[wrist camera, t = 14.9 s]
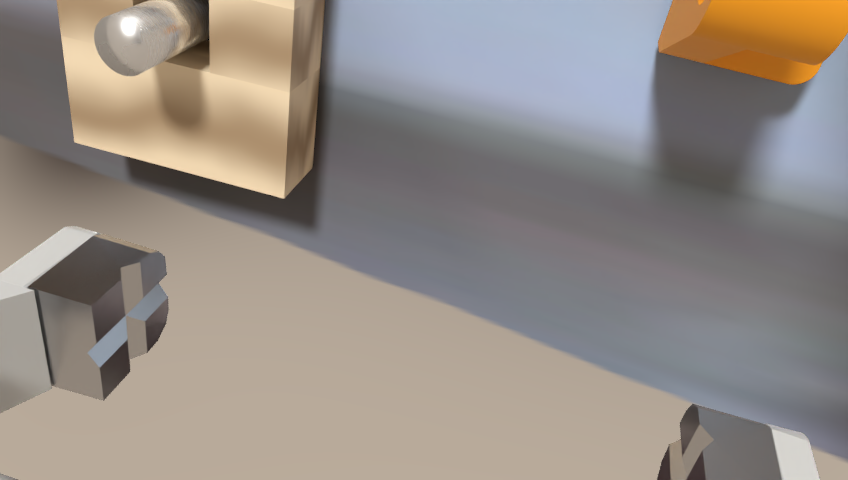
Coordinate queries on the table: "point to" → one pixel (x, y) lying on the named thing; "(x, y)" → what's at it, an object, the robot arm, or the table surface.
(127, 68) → the steel pin
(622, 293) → the table surface
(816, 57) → the bracket
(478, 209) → the table surface
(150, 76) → the oak hole block
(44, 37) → the table surface
